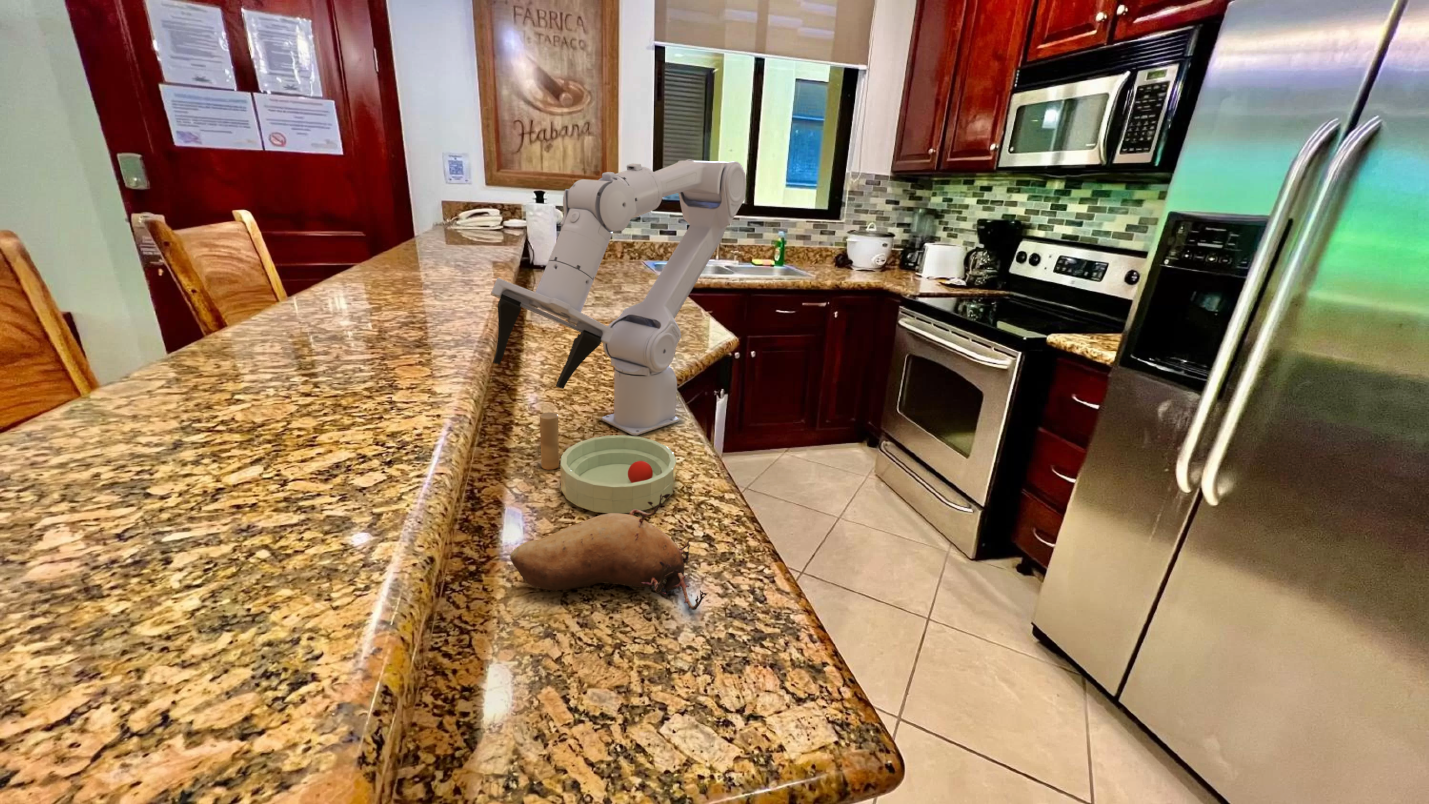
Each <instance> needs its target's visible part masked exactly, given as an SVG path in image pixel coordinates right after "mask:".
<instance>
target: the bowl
mask: <svg viewBox="0 0 1429 804" xmlns="http://www.w3.org/2000/svg"><path fill="white" fill-rule="evenodd" d="M637 461H644V462H647V463H648V464H649V465H650V466H651V468H652V470H653V476H652V478H651V479H648V480H644V481H639V482H634V483H631V481H630V480H629V478H628V469H629V467H630V466H631V465H632V464H633V463H634V462H637ZM559 467H560V469H559V470H560V490H561V493H562V495H564V497H565V499H566V500H568V501H569V502H570V503H572V504H573V505H575V506H576V507H579V508H581V509H584V510H587V511H591V512H593V513H594V512H595V513H599V514H600V513H602V514H608V513H620V514H630V511H632V510H633V509H637V510H640V511H646V510H649V509H653V507H654V508H655V507H656V506H658V505H659V502H660V495H661V494H662V496H663V495H666V494H671V495H670V496H669V497H671V496H672V495H673V492H674V490H675V488H676V475H677V474H676V473H677V459H676V456H675V452H673V451H672V450H671V448H669V447H668V446H667V445H664V444H662V443H661V442H659V441H656V440H654V439H650V438H646V437H643V436H637V435H636V436H634V435H627V434H610V435H609V434H608V435H603V436H602V435H601V436H596V437H591V438H588V439H584V440H581V441H578V442H576V443H575V444H573V445H571V446H569V447H568V448H566V449H565V451H563V453H562V455H561V456H560V462H559ZM662 496H661V498H662ZM664 500H665V498H664V497H663V499H662V500H661V503H663V502H664ZM665 501H666V500H665ZM648 502H652V503H653V504H652V506H653V507H652V506H651V505H650V504H648ZM664 503H665V502H664Z"/></svg>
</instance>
